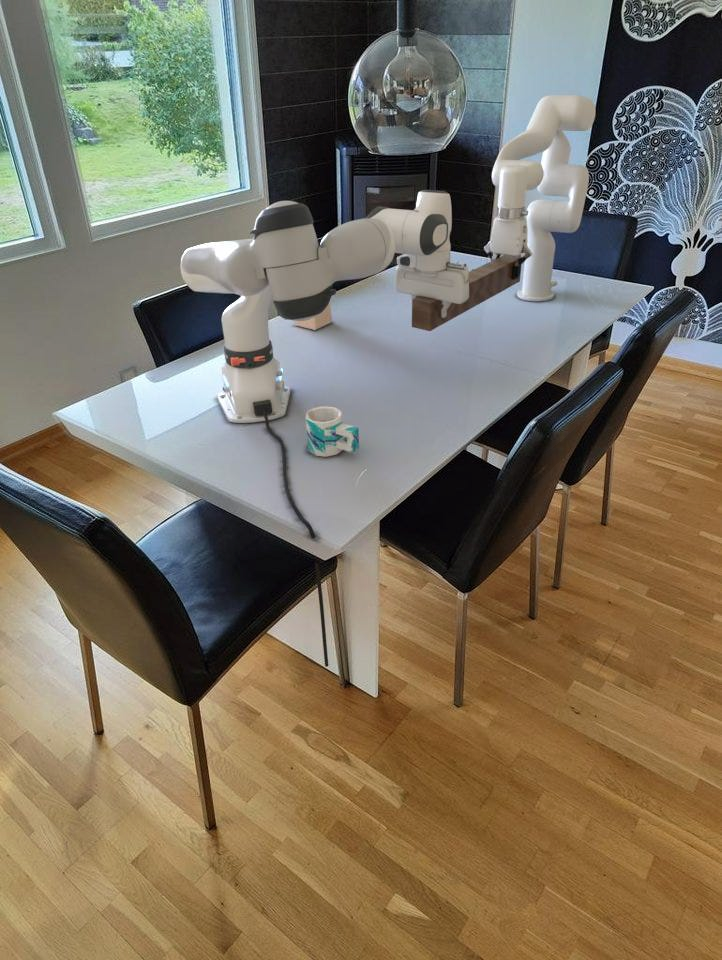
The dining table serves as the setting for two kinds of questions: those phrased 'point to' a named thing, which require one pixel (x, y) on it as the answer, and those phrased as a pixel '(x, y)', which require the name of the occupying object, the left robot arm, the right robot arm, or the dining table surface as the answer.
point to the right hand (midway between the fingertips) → (505, 276)
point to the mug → (329, 432)
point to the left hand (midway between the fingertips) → (430, 314)
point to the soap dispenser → (317, 320)
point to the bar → (481, 288)
